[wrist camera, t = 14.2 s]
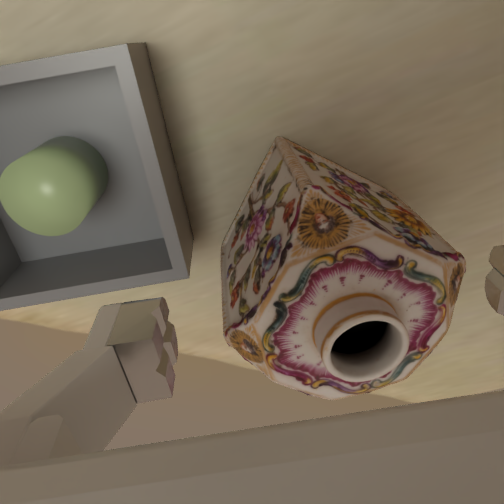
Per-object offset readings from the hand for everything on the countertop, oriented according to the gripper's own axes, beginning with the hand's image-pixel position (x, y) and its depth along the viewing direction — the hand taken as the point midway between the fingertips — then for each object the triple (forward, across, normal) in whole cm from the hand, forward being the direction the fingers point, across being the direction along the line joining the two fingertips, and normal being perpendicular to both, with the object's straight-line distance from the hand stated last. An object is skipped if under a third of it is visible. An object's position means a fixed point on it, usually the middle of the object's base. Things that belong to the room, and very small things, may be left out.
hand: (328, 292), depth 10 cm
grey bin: (+25, +15, +3) cm, 29 cm away
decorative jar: (+25, -3, +10) cm, 28 cm away
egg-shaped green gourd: (+24, +15, +3) cm, 29 cm away
